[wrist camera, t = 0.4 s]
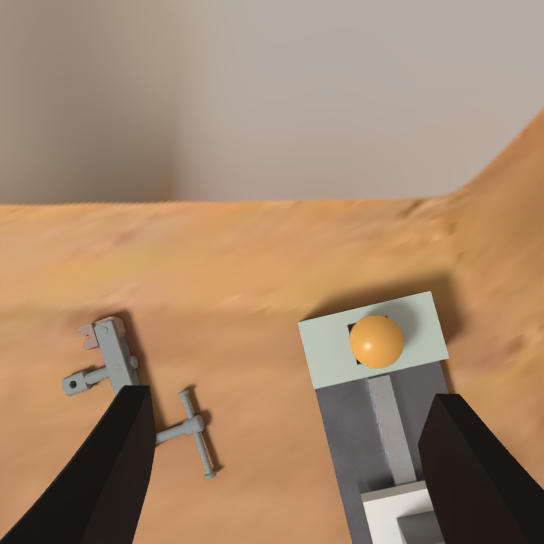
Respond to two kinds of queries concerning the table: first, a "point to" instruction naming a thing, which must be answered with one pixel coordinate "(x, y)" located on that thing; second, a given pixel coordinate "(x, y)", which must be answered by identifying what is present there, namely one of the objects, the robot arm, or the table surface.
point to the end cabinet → (335, 335)
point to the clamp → (128, 378)
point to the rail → (377, 433)
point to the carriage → (402, 515)
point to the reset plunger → (376, 341)
